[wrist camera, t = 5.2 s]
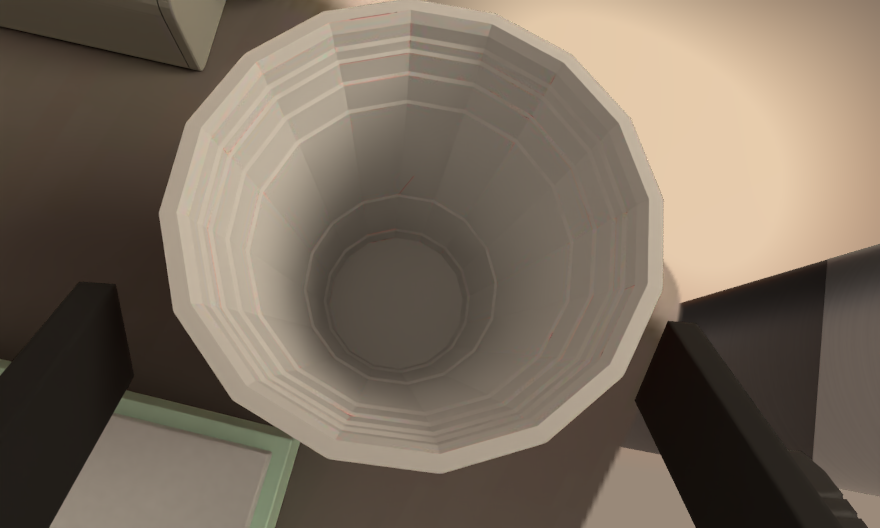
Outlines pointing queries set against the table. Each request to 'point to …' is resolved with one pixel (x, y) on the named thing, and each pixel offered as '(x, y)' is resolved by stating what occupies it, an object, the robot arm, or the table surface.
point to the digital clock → (124, 26)
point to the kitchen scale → (179, 470)
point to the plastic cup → (413, 235)
